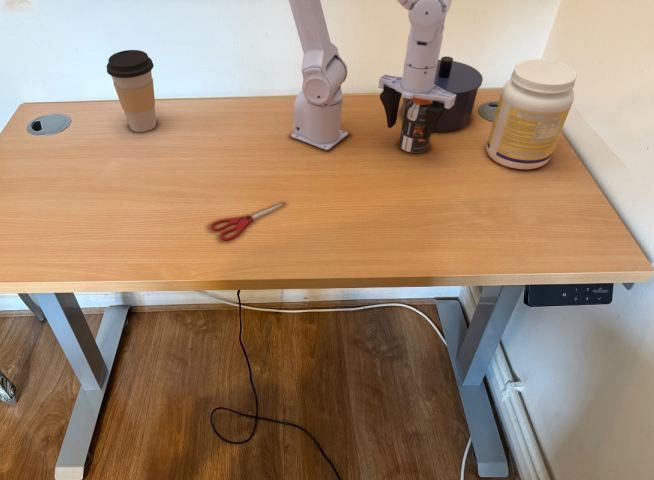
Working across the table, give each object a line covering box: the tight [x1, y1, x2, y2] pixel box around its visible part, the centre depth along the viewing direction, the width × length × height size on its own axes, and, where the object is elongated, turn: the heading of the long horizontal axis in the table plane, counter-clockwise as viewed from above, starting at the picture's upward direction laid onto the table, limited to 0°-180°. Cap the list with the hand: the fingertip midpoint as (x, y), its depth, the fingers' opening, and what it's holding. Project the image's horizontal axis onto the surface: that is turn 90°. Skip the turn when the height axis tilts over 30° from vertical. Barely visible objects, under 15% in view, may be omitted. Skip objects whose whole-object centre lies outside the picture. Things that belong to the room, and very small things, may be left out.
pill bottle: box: [398, 98, 433, 154], centre depth 105 cm, size 6×6×11 cm
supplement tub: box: [485, 58, 578, 170], centre depth 100 cm, size 12×12×17 cm
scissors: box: [210, 203, 283, 242], centre depth 94 cm, size 5×14×1 cm, turn 125°
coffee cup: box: [106, 49, 157, 133], centre depth 113 cm, size 9×9×15 cm
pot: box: [401, 88, 479, 134], centre depth 115 cm, size 15×15×8 cm
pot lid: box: [434, 56, 484, 95], centre depth 110 cm, size 16×16×5 cm
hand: (408, 131), depth 104 cm, fingers open, 7 cm apart
